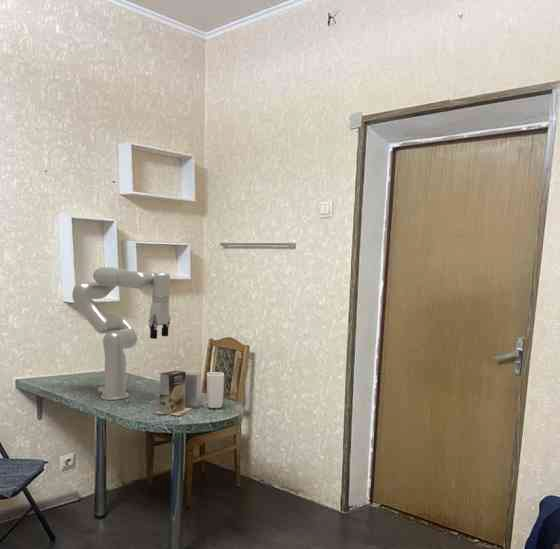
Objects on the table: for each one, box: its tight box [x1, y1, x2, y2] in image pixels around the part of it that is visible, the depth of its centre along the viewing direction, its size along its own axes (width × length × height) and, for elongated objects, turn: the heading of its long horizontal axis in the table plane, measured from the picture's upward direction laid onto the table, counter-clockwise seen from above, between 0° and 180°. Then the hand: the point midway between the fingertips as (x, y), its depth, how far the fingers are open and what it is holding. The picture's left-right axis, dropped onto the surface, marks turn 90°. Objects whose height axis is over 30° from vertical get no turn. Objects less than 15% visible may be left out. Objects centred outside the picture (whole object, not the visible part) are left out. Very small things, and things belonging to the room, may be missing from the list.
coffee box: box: [158, 370, 187, 413], centre depth 206 cm, size 9×6×16 cm
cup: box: [206, 371, 225, 409], centre depth 214 cm, size 7×7×15 cm
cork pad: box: [153, 408, 192, 417], centre depth 206 cm, size 12×11×1 cm
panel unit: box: [185, 372, 204, 410], centre depth 215 cm, size 12×6×14 cm, turn 75°
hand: (159, 337), depth 221 cm, fingers open, 9 cm apart
